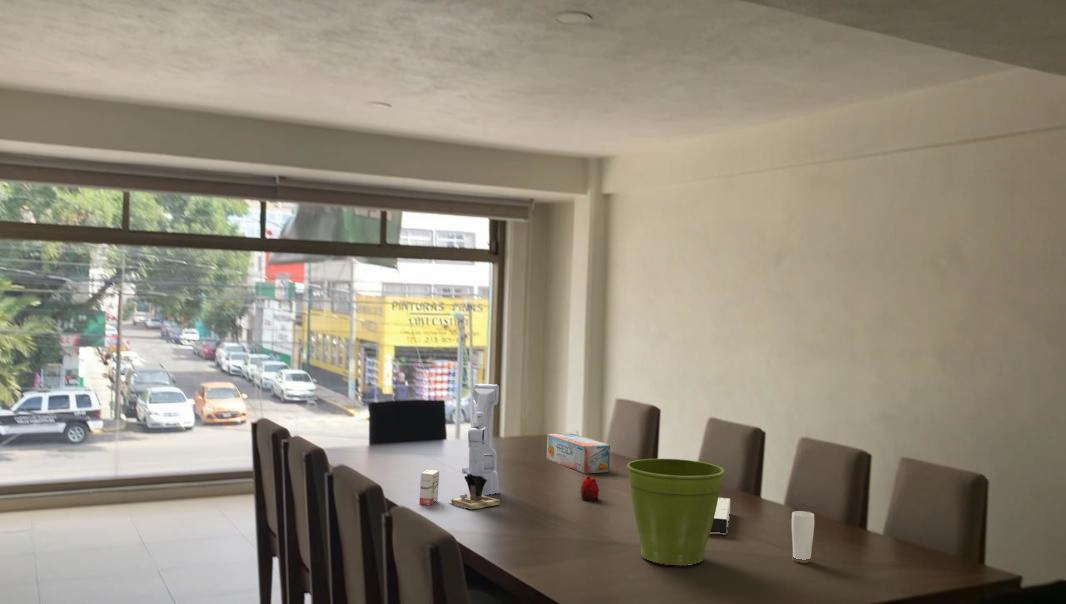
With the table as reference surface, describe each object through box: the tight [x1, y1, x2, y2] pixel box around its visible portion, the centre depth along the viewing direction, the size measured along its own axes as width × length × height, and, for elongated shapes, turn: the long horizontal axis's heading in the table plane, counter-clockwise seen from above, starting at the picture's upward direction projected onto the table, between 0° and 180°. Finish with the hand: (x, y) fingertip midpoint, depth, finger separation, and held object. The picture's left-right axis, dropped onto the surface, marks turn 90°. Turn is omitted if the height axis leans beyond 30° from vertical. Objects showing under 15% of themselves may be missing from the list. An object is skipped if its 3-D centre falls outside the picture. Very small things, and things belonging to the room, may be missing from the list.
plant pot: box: [626, 458, 725, 566], centre depth 285 cm, size 30×30×29 cm
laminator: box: [710, 497, 731, 534], centre depth 332 cm, size 34×12×6 cm, turn 166°
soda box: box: [546, 432, 611, 474], centre depth 436 cm, size 41×14×13 cm, turn 25°
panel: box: [450, 485, 501, 510], centre depth 349 cm, size 14×12×7 cm
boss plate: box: [448, 493, 468, 509], centre depth 351 cm, size 13×11×4 cm
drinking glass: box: [791, 510, 815, 560], centre depth 286 cm, size 7×7×15 cm
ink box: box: [419, 469, 440, 506], centre depth 351 cm, size 9×5×12 cm, turn 169°
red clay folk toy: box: [580, 463, 600, 501], centre depth 364 cm, size 8×7×15 cm
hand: (475, 495), depth 349 cm, fingers closed on panel, 3 cm apart
